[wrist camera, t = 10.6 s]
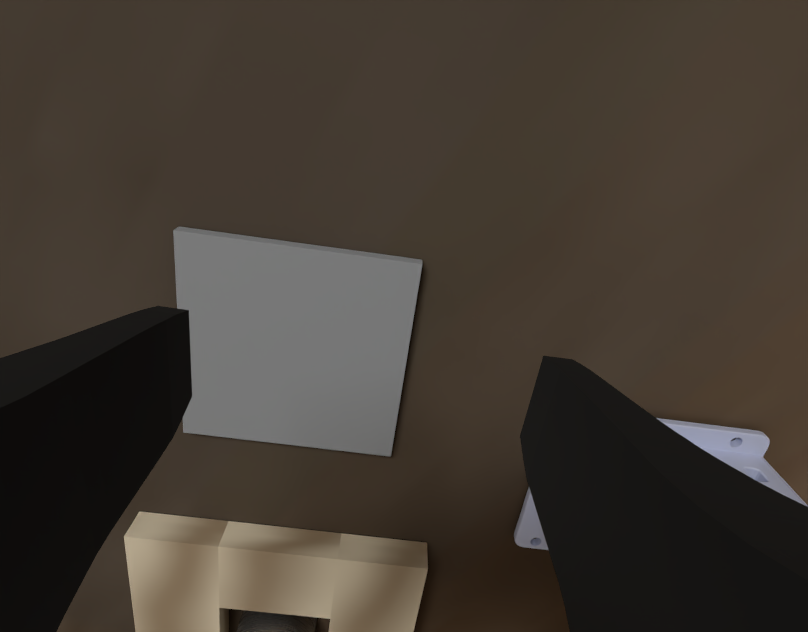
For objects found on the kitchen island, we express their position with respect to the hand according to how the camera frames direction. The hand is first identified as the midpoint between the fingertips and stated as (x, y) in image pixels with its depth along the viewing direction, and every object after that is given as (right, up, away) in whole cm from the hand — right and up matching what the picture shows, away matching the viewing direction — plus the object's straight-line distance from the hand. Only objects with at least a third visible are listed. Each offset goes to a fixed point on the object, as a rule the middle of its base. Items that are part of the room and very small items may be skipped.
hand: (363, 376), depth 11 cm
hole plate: (-6, -15, +18) cm, 24 cm away
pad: (-4, 0, +10) cm, 11 cm away
